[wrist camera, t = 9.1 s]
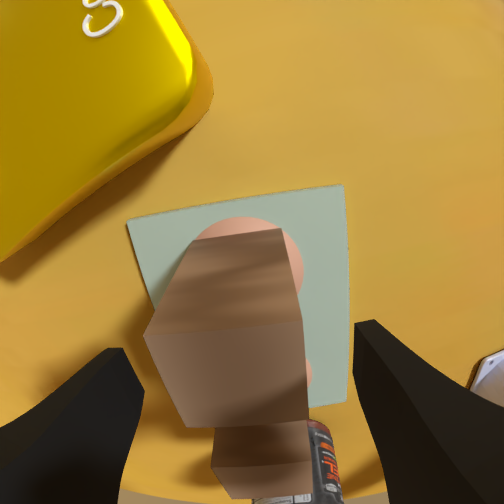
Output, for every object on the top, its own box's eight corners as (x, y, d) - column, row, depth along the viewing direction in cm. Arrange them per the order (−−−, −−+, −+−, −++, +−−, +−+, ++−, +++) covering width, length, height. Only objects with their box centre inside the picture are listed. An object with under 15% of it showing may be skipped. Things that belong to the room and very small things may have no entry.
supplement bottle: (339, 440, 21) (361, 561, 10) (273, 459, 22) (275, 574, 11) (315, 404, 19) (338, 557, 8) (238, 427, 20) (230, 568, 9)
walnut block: (281, 227, 13) (302, 320, 7) (290, 304, 15) (309, 419, 8) (192, 240, 14) (142, 335, 7) (211, 314, 15) (186, 427, 9)
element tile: (232, 108, 12) (219, 95, 8) (24, 251, 15) (-24, 285, 11) (117, -76, 7) (84, -113, 3) (-44, 76, 10) (-90, 79, 6)
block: (296, 350, 16) (311, 460, 10) (300, 396, 18) (312, 493, 11) (224, 359, 16) (210, 467, 10) (237, 403, 18) (231, 499, 11)
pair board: (341, 184, 13) (344, 186, 13) (345, 397, 18) (346, 402, 18) (129, 219, 14) (125, 221, 13) (200, 412, 19) (199, 418, 19)
